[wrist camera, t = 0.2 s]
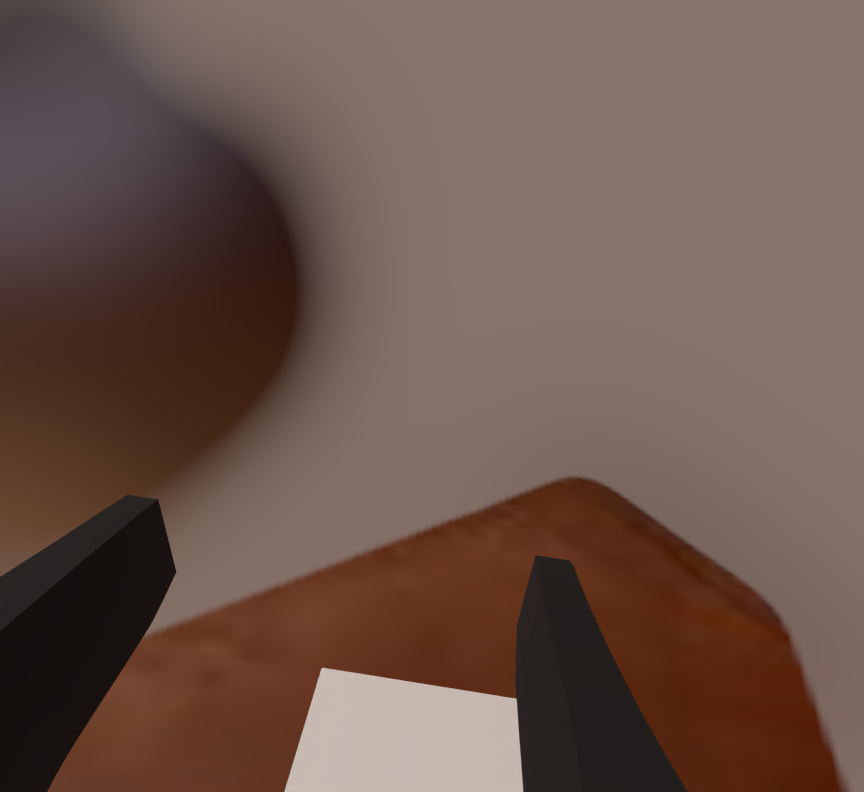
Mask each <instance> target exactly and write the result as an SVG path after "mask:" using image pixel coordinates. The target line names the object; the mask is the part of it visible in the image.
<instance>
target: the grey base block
mask: <svg viewBox="0 0 864 792" xmlns="http://www.w3.org/2000/svg"><path fill="white" fill-rule="evenodd" d="M285 792H523V781H522V768H521V754H520V741H519V727H518V712H517V699H514V698H507V697H501V696H495V695H489V694H482V693H476V692H470V691H464V690H458V689H451V688H445V687H439V686H433V685H426V684H420V683H414V682H408V681H401V680H395V679H389V678H383V677H376V676H370V675H364V674H358V673H352V672H345V671H339V670H333V669H327V668H322V669H321V673H320V676H319V679H318V683H317V686H316V689H315V693H314V696H313V699H312V702H311V706H310V709H309V712H308V716H307V719H306V722H305V726H304V729H303V732H302V736H301V739H300V742H299V746H298V749H297V752H296V755H295V759H294V762H293V765H292V769H291V772H290V775H289V779H288V782H287V785H286V789H285Z"/></svg>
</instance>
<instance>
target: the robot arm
mask: <svg viewBox="0 0 864 792" xmlns="http://www.w3.org/2000/svg"><path fill="white" fill-rule="evenodd" d="M175 574H176V569H175V565H174V561H173V557H172V553H171V549H170V545H169V541H168V537H167V533H166V529H165V525H164V521H163V517H162V513H161V509H160V505H159V501H158V499H152V498H145V497H138V496H132V495H127V496H125V497H124V498H122V499H120V500H119V501H117V502H116V503H114V504H112V505H111V506H109V507H108V508H106V509H104V510H103V511H101V512H100V513H98V514H97V515H95V516H94V517H92V518H91V519H89V520H88V521H86V522H85V523H83V524H81V525H80V526H78V527H77V528H75V529H74V530H72V531H71V532H69V533H68V534H66V535H65V536H63V537H62V538H60V539H59V540H57V541H56V542H54V543H52V544H51V545H49V546H48V547H46V548H45V549H43V550H42V551H40V552H39V553H37V554H35V555H34V556H32V557H31V558H29V559H28V560H26V561H25V562H23V563H22V564H20V565H18V566H17V567H15V568H14V569H12V570H11V571H9V572H7V573H6V574H4V575H3V576H1V577H0V792H47V791H48V789H49V787H50V785H51V783H52V781H53V780H54V778H55V776H56V774H57V772H58V770H59V769H60V767H61V765H62V763H63V762H64V760H65V758H66V757H67V755H68V753H69V752H70V750H71V748H72V747H73V745H74V743H75V742H76V740H77V739H78V737H79V736H80V734H81V732H82V731H83V729H84V728H85V726H86V725H87V723H88V722H89V720H90V718H91V717H92V715H93V714H94V712H95V711H96V709H97V708H98V706H99V705H100V703H101V701H102V700H103V698H104V697H105V695H106V694H107V692H108V691H109V689H110V688H111V686H112V684H113V683H114V681H115V680H116V678H117V677H118V675H119V674H120V672H121V671H122V669H123V667H124V666H125V664H126V663H127V661H128V660H129V658H130V656H131V655H132V653H133V652H134V650H135V649H136V647H137V645H138V644H139V642H140V641H141V639H142V638H143V636H144V634H145V633H146V631H147V630H148V628H149V626H150V625H151V623H152V621H153V619H154V617H155V615H156V613H157V611H158V609H159V607H160V605H161V603H162V601H163V599H164V597H165V595H166V593H167V591H168V589H169V586H170V584H171V582H172V580H173V578H174V576H175ZM515 683H516V698H517V712H518V727H519V741H520V754H521V768H522V781H523V792H688V791H687V789H686V788H685V786H684V785H683V783H682V781H681V780H680V778H679V777H678V775H677V773H676V772H675V770H674V768H673V767H672V765H671V763H670V762H669V760H668V758H667V756H666V755H665V753H664V751H663V750H662V748H661V746H660V745H659V743H658V741H657V739H656V737H655V736H654V734H653V732H652V730H651V728H650V727H649V725H648V723H647V721H646V720H645V718H644V716H643V714H642V712H641V711H640V709H639V707H638V705H637V703H636V701H635V699H634V697H633V696H632V694H631V692H630V690H629V688H628V686H627V684H626V682H625V680H624V678H623V676H622V674H621V672H620V670H619V668H618V666H617V664H616V662H615V660H614V658H613V656H612V654H611V652H610V650H609V648H608V646H607V644H606V642H605V639H604V637H603V635H602V633H601V631H600V629H599V626H598V624H597V622H596V620H595V617H594V615H593V613H592V611H591V608H590V606H589V604H588V601H587V599H586V597H585V594H584V592H583V589H582V587H581V584H580V582H579V579H578V577H577V574H576V571H575V568H574V566H573V565H572V563H571V562H570V561H569V560H562V559H555V558H549V557H542V556H535V560H534V564H533V567H532V571H531V575H530V578H529V582H528V586H527V590H526V593H525V597H524V601H523V605H522V608H521V612H520V616H519V620H518V623H517V641H516V679H515Z"/></svg>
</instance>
